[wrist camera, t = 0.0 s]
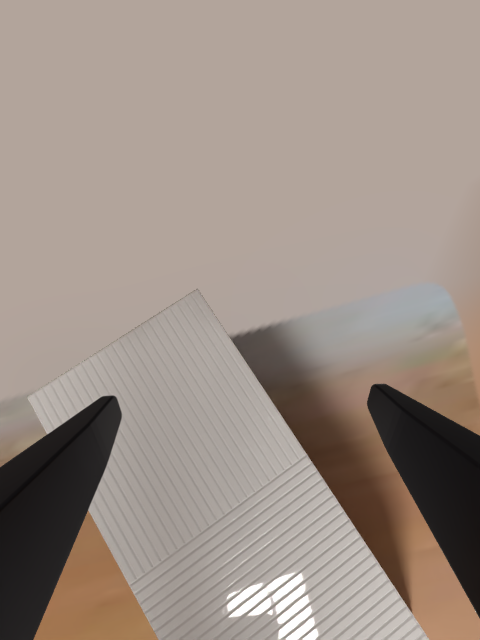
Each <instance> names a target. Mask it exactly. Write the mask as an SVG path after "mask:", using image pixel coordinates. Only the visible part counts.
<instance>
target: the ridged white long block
mask: <svg viewBox="0 0 480 640" xmlns="http://www.w3.org/2000/svg"><path fill="white" fill-rule="evenodd" d="M111 395H114V396H116V397H117V400H118V403H119V406H120V409H121V412H122V419H121V422H120V426H119V429H118V432H117V435H116V438H115V442H114V445H113V448H112V451H111V454H110V458H109V461H108V463H107V466H106V469H105V471H104V474H103V476H102V478H101V481H100V483H99V485H98V488H97V490H96V493H95V495H94V497H93V500H92V502H91V504H90V507H89V509H88V510H89V512H90V514H91V516H92V518H93V520H94V521H95V523H96V525H97V527H98V529H99V531H100V532H101V534H102V536H103V538H104V540H105V542H106V544H107V545H108V547H109V549H110V551H111V553H112V555H113V556H114V558H115V560H116V562H117V564H118V566H119V567H120V569H121V571H122V573H123V575H124V577H125V579H126V580H127V582H128V584H129V586H130V588H131V590H132V591H133V593H134V595H135V597H136V599H137V601H138V603H139V604H140V606H141V608H142V610H143V612H144V614H145V615H146V617H147V619H148V621H149V623H150V625H151V626H152V628H153V630H154V632H155V634H156V636H157V638H158V639H159V640H429V639H428V637H427V635H426V634H425V632H424V631H423V629H422V628H421V626H420V625H419V623H418V622H417V620H416V619H415V617H414V616H413V614H412V613H411V611H410V610H409V608H408V607H407V605H406V604H405V602H404V601H403V599H402V598H401V596H400V595H399V593H398V592H397V590H396V589H395V587H394V586H393V584H392V582H391V581H390V579H389V578H388V576H387V575H386V573H385V572H384V570H383V569H382V567H381V566H380V564H379V563H378V561H377V560H376V558H375V557H374V555H373V554H372V552H371V551H370V549H369V548H368V546H367V545H366V543H365V542H364V540H363V539H362V537H361V536H360V534H359V532H358V531H357V529H356V528H355V526H354V525H353V523H352V522H351V520H350V519H349V517H348V516H347V514H346V513H345V511H344V510H343V508H342V507H341V505H340V504H339V502H338V501H337V499H336V498H335V496H334V495H333V493H332V492H331V490H330V489H329V487H328V486H327V484H326V483H325V481H324V479H323V478H322V476H321V475H320V473H319V472H318V470H317V469H316V467H315V466H314V464H313V463H312V461H311V460H310V458H309V457H308V455H307V454H306V452H305V451H304V449H303V448H302V446H301V445H300V443H299V442H298V440H297V439H296V437H295V436H294V434H293V433H292V431H291V430H290V428H289V426H288V425H287V423H286V422H285V420H284V419H283V417H282V416H281V414H280V413H279V411H278V410H277V408H276V407H275V405H274V404H273V402H272V401H271V399H270V398H269V396H268V395H267V393H266V392H265V390H264V389H263V387H262V386H261V384H260V383H259V381H258V380H257V378H256V377H255V375H254V373H253V372H252V370H251V369H250V367H249V366H248V364H247V363H246V361H245V360H244V358H243V357H242V355H241V354H240V352H239V351H238V349H237V348H236V346H235V345H234V343H233V342H232V340H231V339H230V337H229V336H228V334H227V333H226V331H225V330H224V328H223V327H222V325H221V324H220V322H219V321H218V319H217V317H216V316H215V314H214V313H213V312H212V310H211V308H210V307H209V305H208V304H207V302H206V301H205V299H204V298H203V296H202V295H201V293H200V292H199V290H198V289H196V290H194V291H193V292H191V293H190V294H188V295H187V296H185V297H184V298H182V299H180V300H179V301H177V302H176V303H174V304H172V305H171V306H169V307H168V308H166V309H164V310H163V311H161V312H160V313H158V314H157V315H155V316H153V317H152V318H150V319H149V320H147V321H146V322H144V323H142V324H141V325H139V326H138V327H136V328H135V329H133V330H132V331H130V332H128V333H127V334H125V335H123V336H122V337H120V338H119V339H117V340H116V341H114V342H112V343H111V344H109V345H108V346H106V347H105V348H103V349H101V350H100V351H98V352H97V353H95V354H94V355H92V356H90V357H89V358H87V359H86V360H84V361H82V362H81V363H79V364H78V365H76V366H75V367H73V368H72V369H70V370H68V371H67V372H65V373H64V374H62V375H60V376H59V377H57V378H56V379H54V380H53V381H51V382H49V383H48V384H46V385H45V386H43V387H41V388H40V389H38V390H37V391H35V392H34V393H32V394H30V395H29V396H27V398H28V400H29V402H30V403H31V405H32V407H33V409H34V411H35V413H36V414H37V416H38V418H39V420H40V422H41V424H42V426H43V427H44V429H45V431H46V433H47V434H49V433H50V432H52V431H53V430H54V429H56V428H57V427H59V426H60V425H62V424H63V423H64V422H66V421H67V420H69V419H70V418H72V417H73V416H74V415H76V414H77V413H79V412H80V411H82V410H83V409H85V408H86V407H87V406H89V405H90V404H92V403H93V402H95V401H96V400H97V399H99V398H100V397H102V396H111Z"/></svg>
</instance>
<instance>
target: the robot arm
mask: <svg viewBox="0 0 480 640" xmlns="http://www.w3.org/2000/svg"><path fill="white" fill-rule="evenodd" d="M367 406H368V409H369V412H370V414H371V416H372V418H373V421H374V423H375V425H376V428H377V430H378V432H379V434H380V437H381V439H382V441H383V444H384V446H385V448H386V450H387V452H388V454H389V456H390V458H391V459H392V461H393V463H394V465H395V467H396V468H397V470H398V472H399V474H400V476H401V477H402V479H403V481H404V483H405V485H406V486H407V488H408V490H409V492H410V494H411V495H412V497H413V499H414V501H415V503H416V504H417V506H418V508H419V510H420V512H421V514H422V515H423V517H424V519H425V521H426V523H427V524H428V526H429V528H430V530H431V532H432V533H433V535H434V537H435V539H436V541H437V542H438V544H439V546H440V548H441V550H442V551H443V553H444V555H445V557H446V559H447V560H448V562H449V564H450V566H451V568H452V569H453V571H454V573H455V575H456V577H457V578H458V580H459V582H460V584H461V586H462V587H463V589H464V591H465V593H466V595H467V596H468V598H469V600H470V602H471V604H472V605H473V607H474V609H475V611H476V613H477V614H478V616H479V618H480V436H479V435H477V434H476V433H474V432H472V431H470V430H468V429H466V428H465V427H463V426H461V425H459V424H457V423H456V422H454V421H452V420H450V419H448V418H446V417H445V416H443V415H441V414H439V413H437V412H436V411H434V410H432V409H430V408H428V407H427V406H425V405H423V404H421V403H419V402H417V401H416V400H414V399H412V398H410V397H408V396H407V395H405V394H403V393H401V392H399V391H397V390H396V389H394V388H392V387H390V386H388V385H386V384H374V385H372V387H371V390H370V393H369V397H368V401H367ZM121 419H122V412H121V409H120V406H119V403H118V400H117V397H116V396H114V395H111V396H102V397H100V398H99V399H97V400H96V401H95V402H93V403H92V404H90V405H89V406H87V407H86V408H85V409H83V410H82V411H80V412H79V413H77V414H76V415H74V416H73V417H72V418H70V419H69V420H67V421H66V422H64V423H63V424H62V425H60V426H59V427H57V428H56V429H54V430H53V431H52V432H50V433H49V434H47V435H46V436H44V437H43V438H42V439H40V440H39V441H37V442H36V443H34V444H33V445H32V446H30V447H29V448H27V449H26V450H24V451H23V452H22V453H20V454H19V455H17V456H16V457H14V458H13V459H11V460H10V461H9V462H7V463H6V464H4V465H3V466H1V467H0V640H33V639H34V637H35V634H36V632H37V630H38V627H39V625H40V622H41V620H42V618H43V615H44V613H45V611H46V608H47V606H48V604H49V601H50V599H51V596H52V594H53V592H54V589H55V587H56V585H57V582H58V580H59V578H60V575H61V573H62V571H63V568H64V566H65V563H66V561H67V559H68V556H69V554H70V552H71V549H72V547H73V545H74V542H75V540H76V537H77V535H78V533H79V530H80V528H81V526H82V523H83V521H84V519H85V516H86V514H87V511H88V509H89V507H90V504H91V502H92V500H93V497H94V495H95V493H96V490H97V488H98V485H99V483H100V481H101V478H102V476H103V474H104V471H105V469H106V466H107V463H108V461H109V458H110V454H111V451H112V448H113V445H114V442H115V438H116V435H117V432H118V429H119V426H120V422H121Z"/></svg>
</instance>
